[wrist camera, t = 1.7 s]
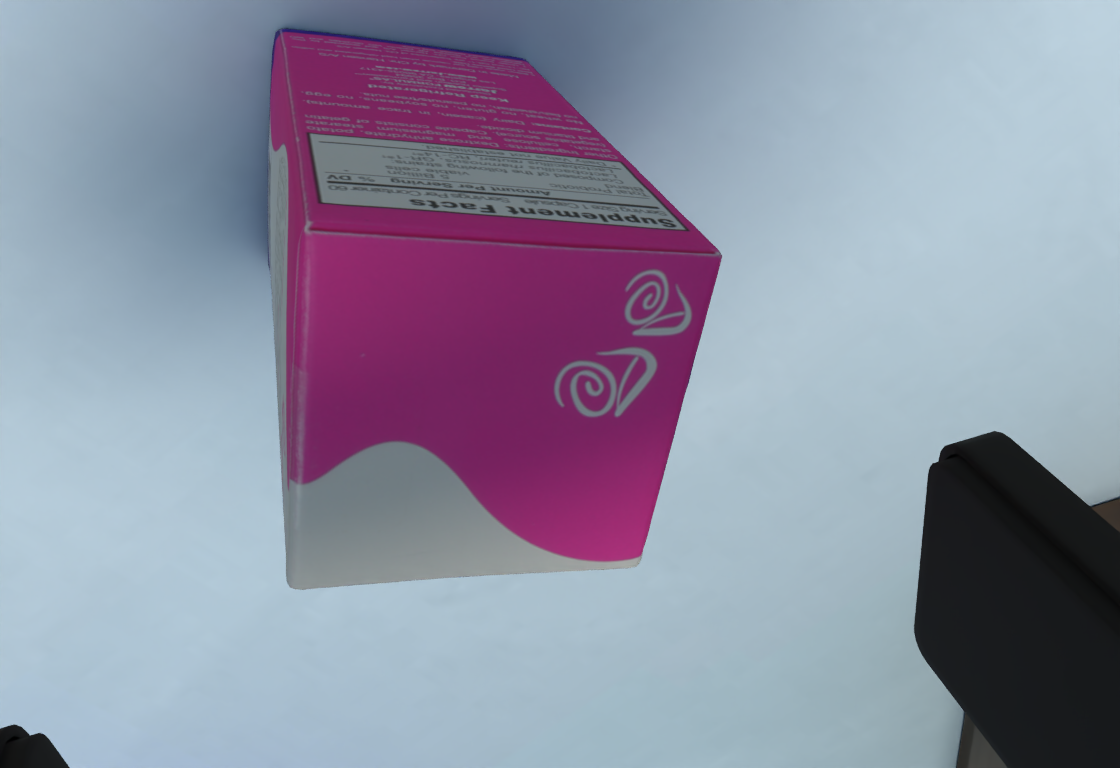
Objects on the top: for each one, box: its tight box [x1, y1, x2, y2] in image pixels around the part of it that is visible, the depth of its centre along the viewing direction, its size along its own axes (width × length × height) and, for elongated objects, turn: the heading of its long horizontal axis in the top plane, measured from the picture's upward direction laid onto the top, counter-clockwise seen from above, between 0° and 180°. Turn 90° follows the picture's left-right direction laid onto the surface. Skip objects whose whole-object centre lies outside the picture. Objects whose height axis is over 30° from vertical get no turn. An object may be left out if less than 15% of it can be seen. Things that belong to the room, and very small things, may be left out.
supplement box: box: [268, 29, 722, 590], centre depth 18 cm, size 6×6×12 cm
